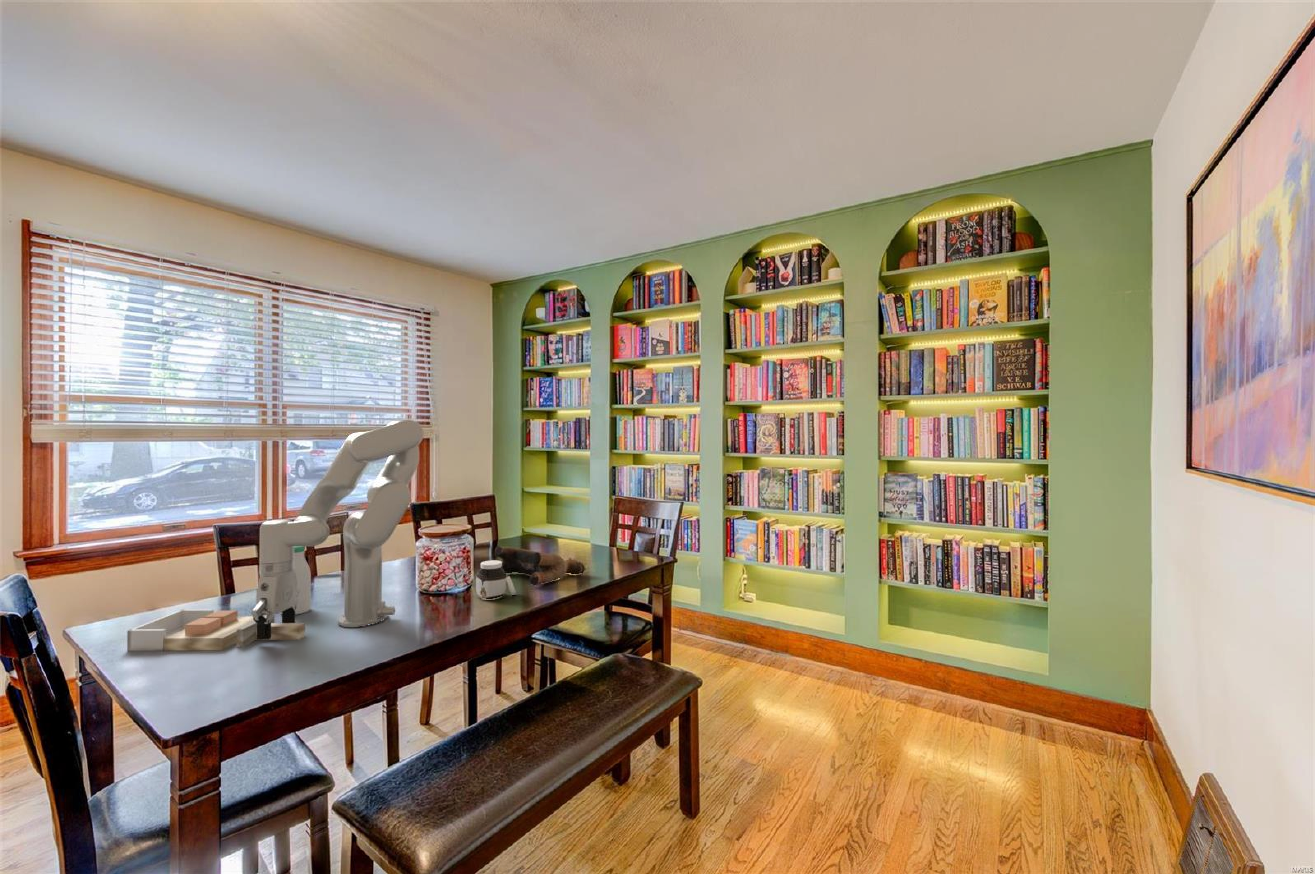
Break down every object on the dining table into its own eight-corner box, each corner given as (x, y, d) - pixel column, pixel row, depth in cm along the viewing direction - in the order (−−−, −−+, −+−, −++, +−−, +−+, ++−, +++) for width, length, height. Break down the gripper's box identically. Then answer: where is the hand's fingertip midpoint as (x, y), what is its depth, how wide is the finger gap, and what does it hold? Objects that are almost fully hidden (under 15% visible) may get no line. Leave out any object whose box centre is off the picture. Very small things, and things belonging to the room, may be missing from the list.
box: (213, 627, 149) (213, 609, 149) (162, 650, 133) (163, 630, 133) (181, 627, 149) (181, 609, 149) (127, 650, 133) (127, 630, 133)
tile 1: (220, 627, 141) (220, 617, 141) (205, 634, 136) (205, 624, 136) (200, 627, 141) (201, 617, 141) (185, 634, 136) (185, 624, 136)
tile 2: (237, 619, 147) (237, 610, 147) (223, 625, 142) (223, 616, 142) (218, 619, 147) (218, 610, 147) (203, 626, 142) (204, 616, 142)
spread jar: (472, 597, 179) (472, 562, 179) (502, 589, 188) (502, 556, 188) (492, 604, 171) (492, 568, 171) (522, 596, 180) (522, 562, 180)
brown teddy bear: (544, 549, 188) (592, 546, 208) (487, 545, 205) (537, 543, 226) (542, 587, 186) (591, 580, 206) (485, 580, 203) (535, 574, 224)
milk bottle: (316, 609, 165) (316, 544, 165) (290, 617, 158) (290, 549, 158) (300, 606, 168) (300, 542, 168) (274, 613, 161) (274, 547, 161)
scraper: (315, 629, 149) (315, 613, 149) (287, 646, 137) (287, 628, 137) (268, 629, 148) (268, 613, 148) (236, 647, 136) (236, 629, 136)
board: (266, 626, 150) (266, 616, 150) (222, 649, 134) (222, 637, 134) (214, 627, 149) (214, 616, 149) (164, 650, 133) (164, 638, 133)
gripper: (269, 575, 134) (269, 644, 134) (311, 559, 151) (310, 620, 151) (238, 575, 133) (237, 644, 134) (283, 559, 151) (283, 620, 151)
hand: (276, 631), depth 142 cm, fingers open, 9 cm apart
